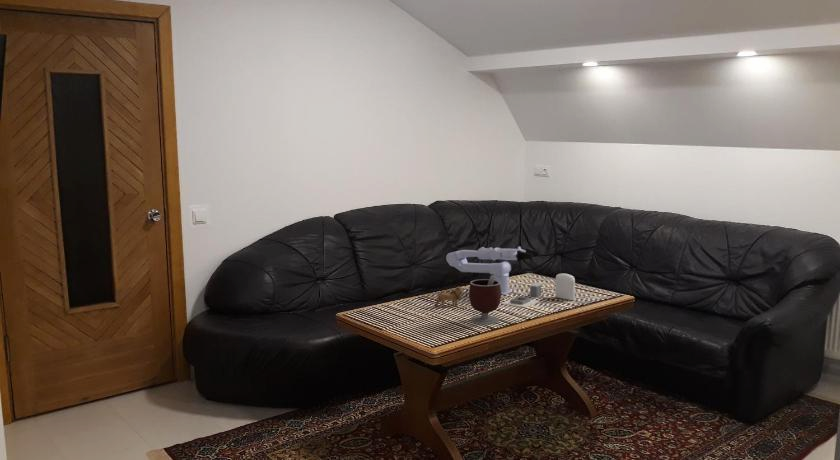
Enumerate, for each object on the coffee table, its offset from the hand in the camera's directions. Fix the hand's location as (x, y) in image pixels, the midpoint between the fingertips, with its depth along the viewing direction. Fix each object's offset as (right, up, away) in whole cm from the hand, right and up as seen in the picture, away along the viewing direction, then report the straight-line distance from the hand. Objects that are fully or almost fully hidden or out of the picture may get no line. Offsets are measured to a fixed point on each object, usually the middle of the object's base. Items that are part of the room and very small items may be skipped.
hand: (535, 255), depth 318 cm
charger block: (+1, -21, +6) cm, 22 cm away
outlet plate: (-8, -23, -7) cm, 25 cm away
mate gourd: (-28, -27, -35) cm, 53 cm away
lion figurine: (-43, -24, -11) cm, 50 cm away
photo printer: (+15, -22, +1) cm, 26 cm away
